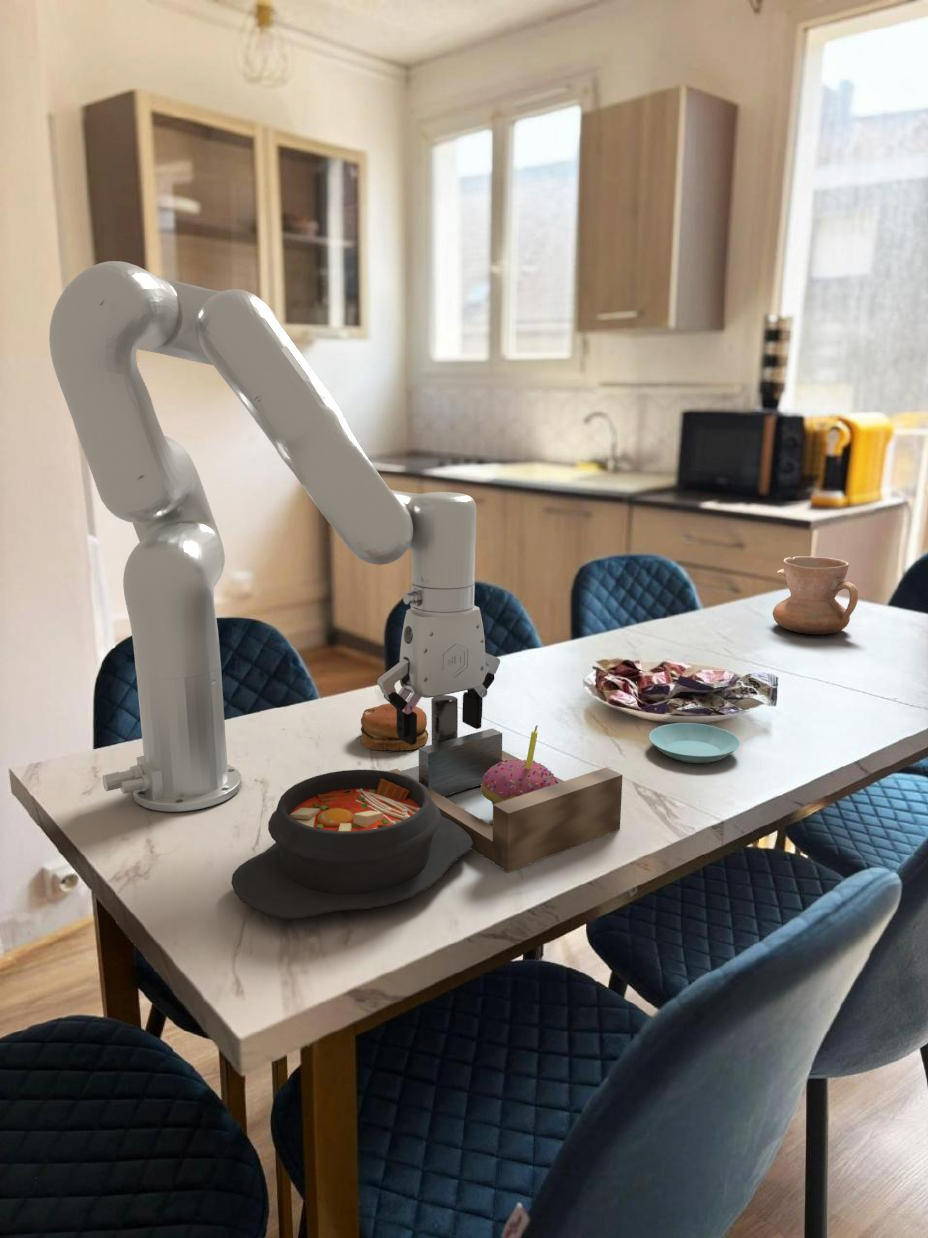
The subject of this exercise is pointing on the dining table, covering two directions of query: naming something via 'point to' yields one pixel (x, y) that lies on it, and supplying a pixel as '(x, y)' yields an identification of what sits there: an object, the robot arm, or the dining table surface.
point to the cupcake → (516, 777)
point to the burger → (389, 729)
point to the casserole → (350, 846)
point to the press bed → (541, 818)
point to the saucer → (694, 742)
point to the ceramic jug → (815, 595)
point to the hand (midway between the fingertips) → (440, 733)
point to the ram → (454, 752)
